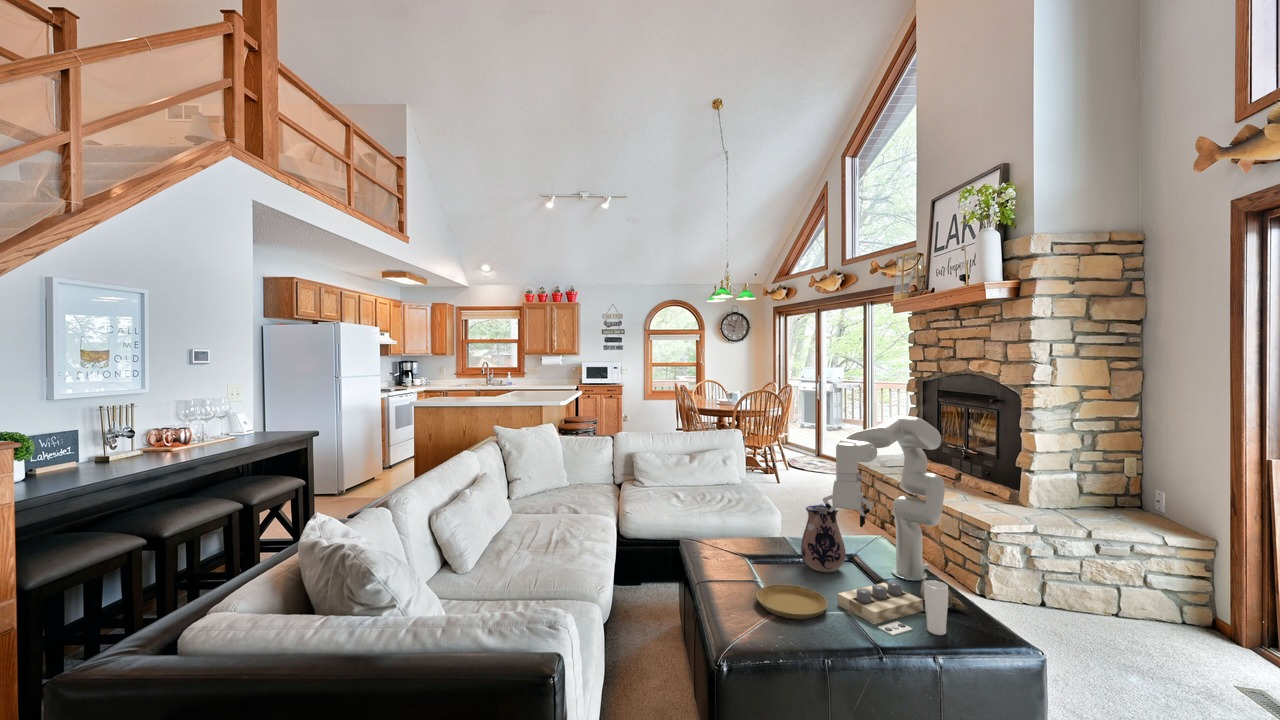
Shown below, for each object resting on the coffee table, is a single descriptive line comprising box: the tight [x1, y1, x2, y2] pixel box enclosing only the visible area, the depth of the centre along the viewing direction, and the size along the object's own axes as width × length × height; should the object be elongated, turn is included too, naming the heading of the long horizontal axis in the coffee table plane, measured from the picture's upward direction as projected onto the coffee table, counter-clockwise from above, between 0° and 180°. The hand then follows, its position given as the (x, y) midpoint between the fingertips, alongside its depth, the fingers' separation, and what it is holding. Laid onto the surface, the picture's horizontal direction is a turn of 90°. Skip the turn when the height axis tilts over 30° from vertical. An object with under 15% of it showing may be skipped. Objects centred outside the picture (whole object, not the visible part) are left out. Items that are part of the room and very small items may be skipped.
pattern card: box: [877, 620, 914, 637], centre depth 172 cm, size 9×6×1 cm, turn 115°
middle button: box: [871, 584, 887, 601], centre depth 187 cm, size 5×5×5 cm
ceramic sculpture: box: [919, 579, 969, 610], centre depth 188 cm, size 11×9×15 cm
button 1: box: [856, 588, 871, 605], centre depth 184 cm, size 5×5×5 cm
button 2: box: [887, 581, 903, 597], centre depth 190 cm, size 5×5×5 cm
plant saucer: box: [755, 583, 829, 620], centre depth 188 cm, size 24×24×3 cm
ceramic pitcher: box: [800, 503, 847, 573], centre depth 226 cm, size 18×21×25 cm
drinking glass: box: [924, 579, 949, 636], centre depth 170 cm, size 7×7×15 cm
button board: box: [837, 582, 924, 625], centre depth 187 cm, size 23×16×4 cm
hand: (847, 524), depth 195 cm, fingers open, 9 cm apart
